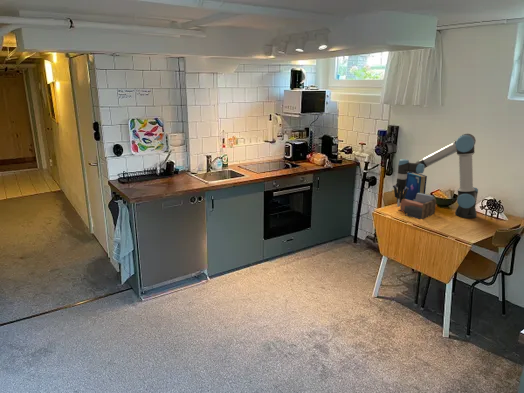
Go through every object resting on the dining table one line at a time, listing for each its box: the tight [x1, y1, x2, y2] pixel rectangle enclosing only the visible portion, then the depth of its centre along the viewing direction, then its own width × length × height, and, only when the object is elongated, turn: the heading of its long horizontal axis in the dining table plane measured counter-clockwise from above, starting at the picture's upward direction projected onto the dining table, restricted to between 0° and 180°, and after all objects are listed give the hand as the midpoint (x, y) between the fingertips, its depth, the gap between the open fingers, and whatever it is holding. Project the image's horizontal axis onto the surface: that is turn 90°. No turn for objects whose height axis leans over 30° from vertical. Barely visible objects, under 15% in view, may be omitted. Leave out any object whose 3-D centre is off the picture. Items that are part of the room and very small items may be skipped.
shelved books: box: [416, 193, 436, 203], centre depth 316 cm, size 6×12×15 cm, turn 43°
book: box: [403, 172, 428, 201], centre depth 345 cm, size 22×7×25 cm, turn 17°
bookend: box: [403, 205, 422, 220], centre depth 308 cm, size 7×16×7 cm, turn 43°
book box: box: [399, 198, 424, 212], centre depth 315 cm, size 6×20×9 cm, turn 43°
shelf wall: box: [420, 198, 437, 220], centre depth 307 cm, size 20×2×12 cm, turn 133°
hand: (398, 206), depth 325 cm, fingers closed
